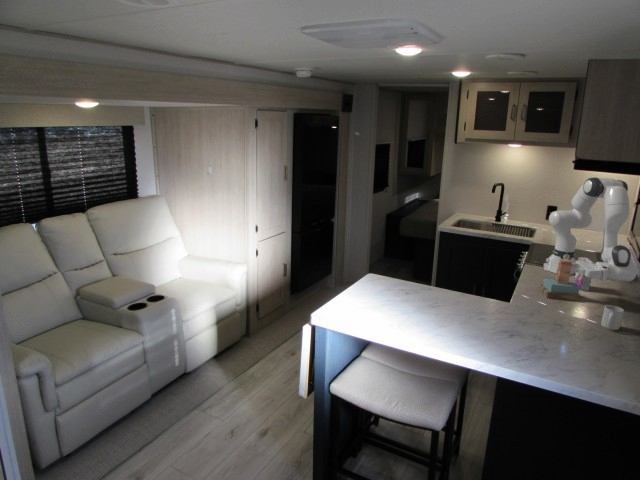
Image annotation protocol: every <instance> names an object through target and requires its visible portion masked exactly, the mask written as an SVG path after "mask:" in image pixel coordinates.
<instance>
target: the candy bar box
mask: <svg viewBox="0 0 640 480" xmlns="http://www.w3.org/2000/svg"><path fill="white" fill-rule="evenodd" d="M577 261H585V262H591V263H592V264H595V263H594V262H593V261H591V259H589V258H588V257H582V256H581V257H580V256H579V257H578V259H577ZM574 276H575V277H574V280H573V282H574V283H575V284H577V285H578V286H580V288H579V291H581V292H589V291H590V289H591V283H592V278H588V277H586V276H585V275H584V274H581V273H577V272H576V274H574Z"/></svg>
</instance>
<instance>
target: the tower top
mask: <svg viewBox="0 0 640 480" xmlns="http://www.w3.org/2000/svg"><path fill="white" fill-rule="evenodd" d="M555 279H556V278H554V279H553V278H544V279H543V286H544V287H545V288H546V289H548V290H549V291H550V292H558V293H573V294H578V293H579V292H580V290H579V288H580V286H578V285H577V284H575V283H574V281H572V280H571V279H569V282H568V284H559V283H557V282H556V280H555ZM579 294H580V293H579Z"/></svg>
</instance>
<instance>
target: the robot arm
mask: <svg viewBox="0 0 640 480" xmlns="http://www.w3.org/2000/svg"><path fill="white" fill-rule="evenodd" d="M628 191H629V186H628V183H627V182H625V181H624V180H621V179H614V178H609V177H589V178H587V179H586V180H585V181H584V183H583V184H582V185H581V186H580V188H579V189H578V190H577V192H576V193H575V195H574V196H573V198H572V199H571V206H572V207H573V209H571V210H570V209H568V210H566V209H565V210H564V209H563V210H562V209H561V210H560V209H559V210H555V211H552V212H551V213H550V214H549V216H548V222H549V225H550V226H551V227H552V229H554V232H555V244H554V245H555V246H554V248H553V250H552V254H551V255H550V256H549V257H548V258H547V257H546V259H545V263H543V269H544V271H547V272H551V273H553V274H556V273H557V268H558V262H559V259H567V260H570V261H571V262H572V266H571V271H570V276H572V275H576V272H577V273H581V274H584V275H585V276H586V277H588V278H591V280H600V282H601V281H602V282H606V281H607V280H611V281H612V280H613V281H614V282H615V281H616V282H632V281H633V280H635V278H636V277H637V275H638V267H637V266H636V265H635V264H634V262H633V260H632V252H631V250H630V249H629V248H628V247H627V246H624V245H620V244H619V245H618V237H619V236H618V235H619V231H620V229H621V228H622V226H623V225H624V224H625V223H626V222H627V221H628V219H629V215H630V199H629V195H628V194H629V193H628ZM598 199H603V200H604V205H603V207H604V224H603V225H604V227H603V241H602V244H603V245H602V250H601V251H600V254H599V257H598V259H599V261H597V262H595V263H594V264H592V263H591V262H585V261H578V260H576V258H575V256H576V251H575V250H576V245H577V238H576V237H575V235H573V234H572V232H571V231H572V230H571V229H585V228H588V227H590V226H591V224H592V222H593V219H592V218H593V217H592V215H591V213H590V212H591V209H592V207H593V206H594V204H595V203H596V202H597V201H598Z"/></svg>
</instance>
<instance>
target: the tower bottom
mask: <svg viewBox="0 0 640 480" xmlns="http://www.w3.org/2000/svg"><path fill="white" fill-rule="evenodd" d="M539 288H540V289H539V290H540V292H541V293H542V294H543V295H544V297H545V296H546V297H545V298H546V299H548V298H549V299H550V300H557V299H559V301H567V300H568V301H569V302H576V301H577V302H578V303H580V302H581V299H582V295H581V294H580V293H578V294H573V293H558V292H550V291H549V290H548V289H546V288H545V287H544V286H543V284H541V283H540V287H539ZM549 299H548V300H549Z"/></svg>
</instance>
